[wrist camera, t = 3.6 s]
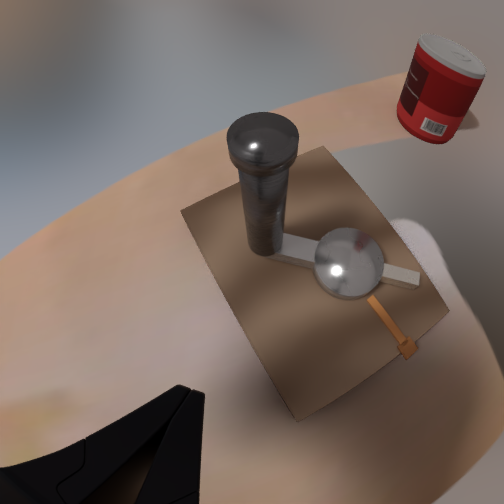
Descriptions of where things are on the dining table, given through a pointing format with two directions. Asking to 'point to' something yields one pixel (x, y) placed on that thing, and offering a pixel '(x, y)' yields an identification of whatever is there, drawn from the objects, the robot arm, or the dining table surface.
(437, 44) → the canned food
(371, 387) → the dining table surface
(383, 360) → the stand
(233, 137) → the crank handle
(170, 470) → the robot arm
